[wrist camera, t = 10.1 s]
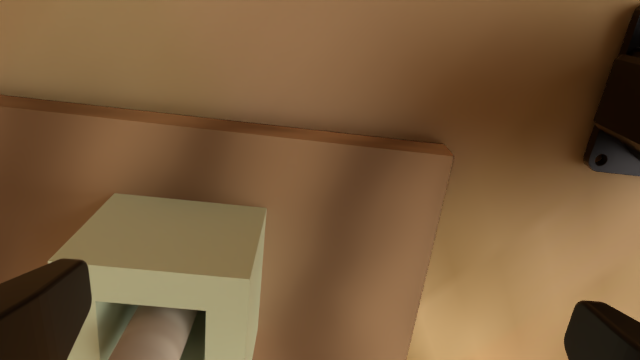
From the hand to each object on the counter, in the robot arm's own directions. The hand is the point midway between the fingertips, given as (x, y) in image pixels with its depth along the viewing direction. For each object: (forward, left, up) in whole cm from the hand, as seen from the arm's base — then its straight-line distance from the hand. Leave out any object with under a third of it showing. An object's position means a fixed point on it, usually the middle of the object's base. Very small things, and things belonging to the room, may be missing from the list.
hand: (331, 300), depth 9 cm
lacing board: (+5, +6, -11) cm, 14 cm away
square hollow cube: (+5, +6, -10) cm, 13 cm away
